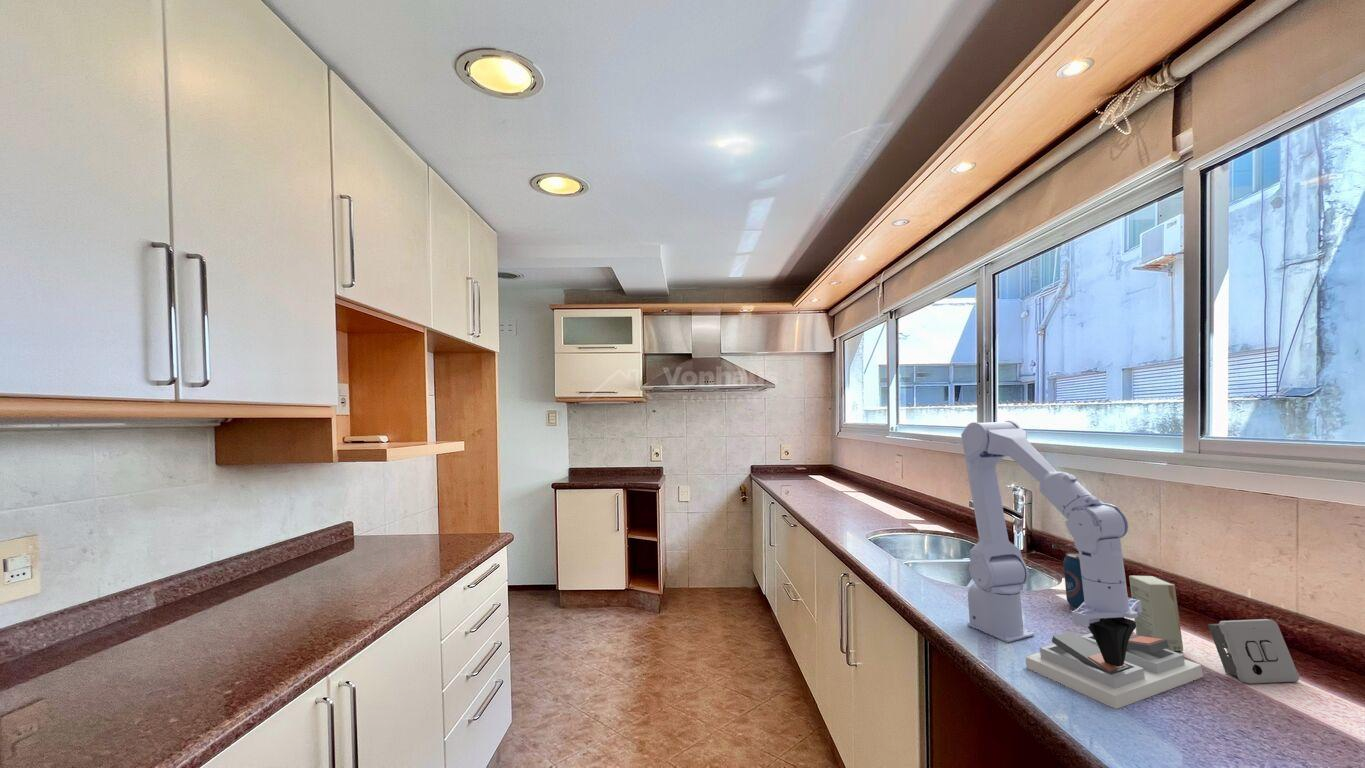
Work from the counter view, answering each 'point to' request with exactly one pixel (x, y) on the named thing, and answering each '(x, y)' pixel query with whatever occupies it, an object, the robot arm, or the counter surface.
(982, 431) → the robot arm
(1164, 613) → the skincare box
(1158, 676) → the breaker panel
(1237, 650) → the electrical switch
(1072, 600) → the soda can
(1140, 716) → the counter surface
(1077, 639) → the rocker
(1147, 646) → the rocker
